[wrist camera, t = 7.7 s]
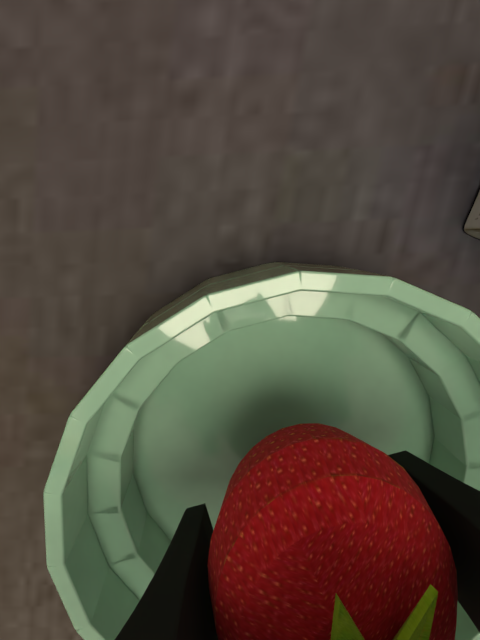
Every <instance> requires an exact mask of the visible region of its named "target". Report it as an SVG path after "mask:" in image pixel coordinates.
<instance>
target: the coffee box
mask: <svg viewBox="0 0 480 640" xmlns="http://www.w3.org/2000/svg"><path fill="white" fill-rule="evenodd" d="M464 231H465V232H466V233H467V234H469V235H471V236H473V237H476V238H478V239H480V191H479V193H478V196H477V198H476V200H475V203H474V205H473V207H472V209H471V212H470V214H469V216H468V219H467V221H466V223H465V227H464Z"/></svg>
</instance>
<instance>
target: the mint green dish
mask: <svg viewBox="0 0 480 640" xmlns="http://www.w3.org/2000/svg"><path fill="white" fill-rule="evenodd" d="M302 423H319V424H324V425H328V426H333V427H336V428H338V429H341V430H343V431H345V432H347V433H349V434H351V435H353V436H354V437H356V438H358V439H360V440H362V441H364V442H366V443H367V444H369V445H371V446H373V447H375V448H377V449H378V450H380V451H382V452H384V453H386V454H387V455H390V454H394V453H398V452H401V451H405V450H406V451H408V452H410V453H411V454H413V455H415V456H417V457H418V458H420V459H422V460H424V461H425V462H427V463H429V464H431V465H432V466H434V467H436V468H438V469H439V470H441V471H443V472H445V473H447V474H448V475H450V476H452V477H454V478H456V479H458V480H460V481H461V482H463V483H465V484H467V485H469V486H471V487H473V488H475V489H477V490H479V491H480V318H479V317H478V316H477V315H476V314H475V313H474V312H472V311H471V310H469V309H467V308H465V307H462V306H460V305H458V304H455V303H453V302H451V301H448V300H446V299H444V298H441V297H439V296H437V295H434V294H432V293H430V292H427V291H425V290H423V289H420V288H418V287H416V286H413V285H411V284H409V283H406V282H404V281H402V280H399V279H397V278H395V277H390V276H386V275H381V274H376V273H371V272H366V271H360V270H355V269H350V268H345V267H340V266H329V265H315V264H300V263H286V262H271V263H267V264H264V265H260V266H256V267H252V268H248V269H244V270H240V271H236V272H232V273H228V274H224V275H220V276H216V277H213V278H210V279H207V280H206V281H204V282H202V283H201V284H199V285H198V286H196V287H194V288H193V289H191V290H190V291H188V292H187V293H185V294H183V295H182V296H180V297H179V298H177V299H176V300H174V301H172V302H171V303H169V304H168V305H166V306H165V307H163V308H161V309H160V310H158V311H157V312H155V313H154V314H153V315H151V316H150V317H149V319H148V320H147V321H146V322H145V323H144V324H143V326H142V327H141V328H140V329H139V330H138V331H137V333H136V334H135V335H134V336H133V337H132V338H131V339H130V341H129V342H128V343H127V344H126V345H125V346H124V348H123V349H122V350H121V351H120V353H119V354H118V355H117V356H116V358H115V359H114V360H113V361H112V363H111V364H110V365H109V366H108V367H107V369H106V370H105V371H104V372H103V374H102V375H101V376H100V377H99V379H98V380H97V381H96V382H95V384H94V385H93V386H92V387H91V389H90V390H89V391H88V392H87V393H86V395H85V396H84V397H83V398H82V400H81V401H80V402H79V403H78V405H77V406H76V407H75V408H74V410H73V411H72V412H71V414H70V416H69V417H68V420H67V423H66V426H65V429H64V432H63V435H62V438H61V441H60V444H59V447H58V450H57V453H56V456H55V459H54V461H53V464H52V467H51V470H50V473H49V476H48V479H47V482H46V485H45V488H44V493H43V498H44V519H45V541H46V562H47V566H48V567H47V569H48V571H49V573H50V575H51V578H52V580H53V582H54V584H55V586H56V589H57V591H58V593H59V595H60V598H61V600H62V602H63V604H64V606H65V609H66V611H67V613H68V615H69V618H70V620H71V622H72V624H73V626H74V629H75V630H76V631H77V633H78V634H79V635H80V636H81V637H82V638H83V639H84V640H115V638H116V637H117V635H118V634H119V632H120V631H121V629H122V628H123V626H124V625H125V623H126V622H127V620H128V619H129V617H130V616H131V614H132V612H133V611H134V609H135V608H136V606H137V604H138V603H139V601H140V599H141V598H142V596H143V594H144V592H145V590H146V589H147V587H148V585H149V583H150V581H151V580H152V578H153V576H154V574H155V572H156V571H157V569H158V567H159V565H160V563H161V561H162V559H163V557H164V555H165V553H166V551H167V549H168V547H169V545H170V543H171V540H172V538H173V536H174V534H175V532H176V530H177V527H178V525H179V523H180V521H181V518H182V516H183V514H184V512H185V510H186V509H187V508H189V507H193V506H197V505H200V504H204V503H205V504H206V508H207V511H208V514H209V517H210V520H211V524H212V527H213V530H214V527H215V524H216V521H217V518H218V515H219V512H220V509H221V506H222V503H223V500H224V497H225V494H226V491H227V487H228V484H229V481H230V479H231V477H232V475H233V473H234V472H235V470H236V468H237V466H238V464H239V463H240V461H241V460H242V459H243V458H244V457H245V455H246V454H247V453H248V452H249V450H250V449H251V448H252V447H253V446H255V445H256V444H257V443H258V442H260V441H261V440H262V439H263V438H265V437H266V436H268V435H270V434H272V433H274V432H276V431H278V430H280V429H282V428H285V427H289V426H293V425H297V424H302ZM455 640H480V633H479V631H478V629H477V628H476V626H475V625H474V623H473V622H472V620H471V619H470V617H469V616H468V614H467V613H466V612H465V610H464V609H463V607H462V606H461V605H460V603H459V602H458V601H457V622H456V633H455Z"/></svg>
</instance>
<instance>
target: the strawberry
mask: <svg viewBox="0 0 480 640" xmlns="http://www.w3.org/2000/svg"><path fill="white" fill-rule="evenodd" d="M208 582H209V592H210V598H211V603H212V609H213V615H214V621H215V627H216V632H217V636H218V640H455V633H456V622H457V601H458V589H457V573H456V567H455V563H454V559H453V556H452V552H451V548H450V545H449V543H448V541H447V539H446V537H445V535H444V533H443V531H442V529H441V527H440V525H439V523H438V522H437V520H436V518H435V516H434V514H433V512H432V511H431V509H430V507H429V505H428V503H427V501H426V500H425V498H424V496H423V494H422V492H421V490H420V489H419V487H418V485H417V484H416V483H415V482H414V480H413V479H412V478H411V477H410V475H409V474H408V473H407V471H406V470H405V469H404V468H403V467H402V466H401V465H399V464H398V463H397V462H396V461H394V460H393V459H392V458H391V457H389V456H388V455H387V454H386V453H384V452H382V451H380V450H378V449H377V448H375V447H373V446H371V445H369V444H367V443H366V442H364V441H362V440H360V439H358V438H356V437H354V436H353V435H351V434H349V433H347V432H345V431H343V430H341V429H338V428H336V427H333V426H328V425H324V424H319V423H302V424H297V425H293V426H289V427H285V428H282V429H280V430H278V431H276V432H274V433H272V434H270V435H268V436H266V437H265V438H263V439H262V440H261V441H260V442H258V443H257V444H256V445H255V446H253V447H252V448H251V449H250V450H249V452H248V453H247V454H246V455H245V457H244V458H243V459H242V460H241V461H240V463H239V464H238V466H237V468H236V470H235V472H234V473H233V475H232V477H231V479H230V481H229V484H228V487H227V491H226V494H225V497H224V500H223V503H222V506H221V509H220V512H219V515H218V518H217V521H216V524H215V527H214V530H213V534H212V537H211V541H210V548H209V556H208Z"/></svg>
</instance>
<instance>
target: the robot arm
mask: <svg viewBox="0 0 480 640" xmlns="http://www.w3.org/2000/svg"><path fill="white" fill-rule="evenodd" d="M388 456H389V457H391V458H392V459H393V460H394V461H396V462H397V463H398V464H399V465H401V466H402V467H403V468H404V469H405V470H406V471H407V473H408V474H409V475H410V477H411V478H412V479H413V480H414V482H415V483H416V484H417V485H418V487H419V489H420V490H421V492H422V494H423V496H424V498H425V500H426V501H427V503H428V505H429V507H430V509H431V511H432V512H433V514H434V516H435V518H436V520H437V522H438V523H439V525H440V527H441V529H442V531H443V533H444V535H445V537H446V539H447V541H448V543H449V545H450V548H451V552H452V556H453V559H454V563H455V567H456V573H457V589H458V602H459V603H460V605H461V606H462V607H463V609H464V610H465V612H466V613H467V614H468V616H469V617H470V619H471V620H472V622H473V623H474V625H475V626H476V628H477V629H478V631H479V633H480V491H479V490H477V489H475V488H473V487H471V486H469V485H467V484H465V483H463V482H461V481H460V480H458V479H456V478H454V477H452V476H450V475H448V474H447V473H445V472H443V471H441V470H439V469H438V468H436V467H434V466H432V465H431V464H429V463H427V462H425V461H424V460H422V459H420V458H418V457H417V456H415V455H413V454H411V453H410V452H408V451H406V450H405V451H401V452H398V453H394V454H390V455H388ZM212 534H213V527H212V524H211V520H210V517H209V514H208V511H207V508H206V504H205V503H204V504H200V505H197V506H193V507H189V508H187V509H186V510H185V512H184V514H183V516H182V518H181V521H180V523H179V525H178V527H177V530H176V532H175V534H174V536H173V538H172V540H171V543H170V545H169V547H168V549H167V551H166V553H165V555H164V557H163V559H162V561H161V563H160V565H159V567H158V569H157V571H156V572H155V574H154V576H153V578H152V580H151V581H150V583H149V585H148V587H147V589H146V590H145V592H144V594H143V596H142V598H141V599H140V601H139V603H138V604H137V606H136V608H135V609H134V611H133V612H132V614H131V616H130V617H129V619H128V620H127V622H126V623H125V625H124V626H123V628H122V629H121V631H120V632H119V634H118V635H117V637H116V638H115V640H218V636H217V632H216V627H215V621H214V615H213V609H212V603H211V598H210V592H209V582H208V556H209V548H210V541H211V537H212Z"/></svg>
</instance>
